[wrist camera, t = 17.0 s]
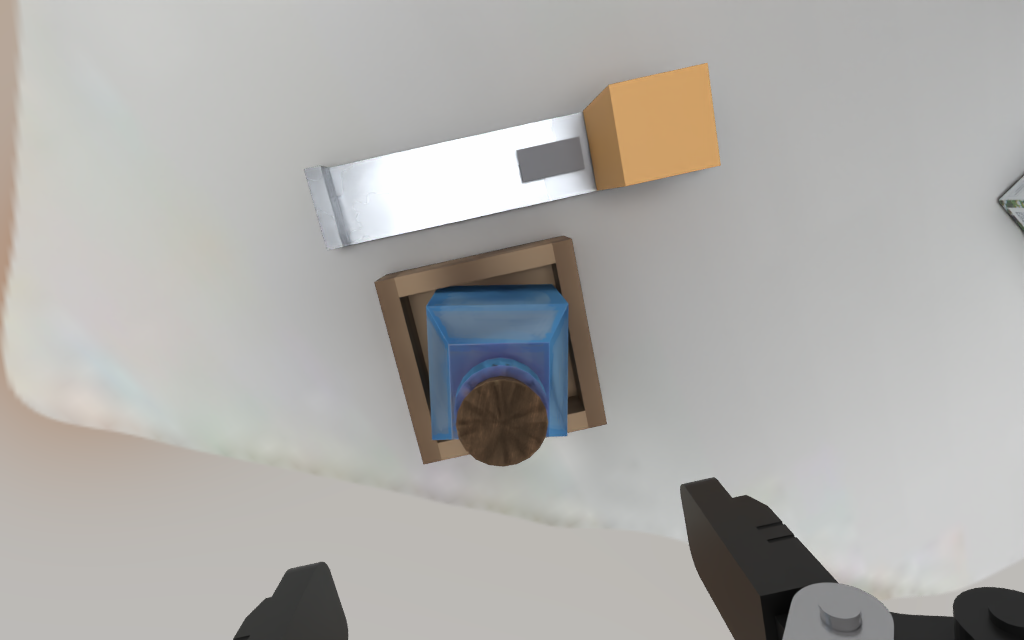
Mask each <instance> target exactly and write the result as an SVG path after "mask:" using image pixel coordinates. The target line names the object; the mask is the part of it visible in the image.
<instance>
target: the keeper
mask: <svg viewBox="0 0 1024 640" xmlns="http://www.w3.org/2000/svg"><path fill="white" fill-rule="evenodd" d="M374 283H375V287H376V290H377V294H378V298H379V301H380V305H381V309H382V312H383V316H384V320H385V324H386V327H387V331H388V335H389V338H390V342H391V346H392V349H393V353H394V357H395V360H396V364H397V368H398V372H399V375H400V379H401V383H402V386H403V390H404V394H405V397H406V401H407V405H408V409H409V412H410V416H411V420H412V423H413V427H414V431H415V434H416V438H417V442H418V445H419V449H420V453H421V457H422V460H423V464H428V463H432V462H437V461H441V460H446V459H450V458H455V457H459V456H464V455H469V453H468V452H467V451H466V450H465V449H464V447H463V445H462V443H461V442H460V440H459V439H451V440H432V427H431V405H430V382H429V360H428V338H427V315H426V306H427V304H428V302H429V301H430V299H431V298H432V296H433V295H434V293H435V291H436V290H437V289H440V288H445V287H449V286H473V285H529V284H553V286H554V287H555V288H556V289H557V290H558V292H559V293H560V294H561V295H562V296H563V298H564V299H565V300H566V301H567V302H568V411H567V433H569V432H573V431H578V430H583V429H587V428H592V427H596V426H601V425H605V424H607V422H606V416H605V411H604V406H603V401H602V395H601V390H600V385H599V380H598V374H597V369H596V364H595V359H594V353H593V348H592V343H591V338H590V332H589V327H588V322H587V316H586V311H585V306H584V301H583V295H582V290H581V285H580V280H579V274H578V269H577V264H576V259H575V253H574V248H573V243H572V239H571V238H568V237H565V236H560V237H555V238H551V239H546V240H542V241H537V242H533V243H528V244H524V245H519V246H514V247H510V248H505V249H501V250H496V251H492V252H487V253H483V254H478V255H473V256H469V257H464V258H460V259H455V260H451V261H446V262H442V263H437V264H433V265H428V266H423V267H419V268H414V269H410V270H405V271H401V272H396V273H392V274H387V275H385V276H383V277H382V278H380V279H379V280H377V281H376V282H374ZM545 438H546V437H545Z"/></svg>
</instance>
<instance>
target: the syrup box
mask: <svg viewBox="0 0 1024 640" xmlns="http://www.w3.org/2000/svg"><path fill="white" fill-rule="evenodd" d="M999 202H1000V203H1001V204H1002V206H1003V207H1004V208H1005V209H1006V211H1007V212H1008V213H1009V214H1010V215H1011V216H1012V218H1013V219H1014V220H1015V221H1016V222H1017V224H1018V225H1019V226H1020V227H1021V229H1022V230H1023V231H1024V176H1023V177H1022V178H1021V179H1020V180H1019V181H1018V182H1017V183H1016V184H1015V185H1014V186H1013V187H1012V188H1011V189H1010V190H1009V191H1008V192H1007V193H1005V194H1004V195H1003V196H1002V197H1001V198H1000V199H999Z"/></svg>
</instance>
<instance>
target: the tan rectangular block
mask: <svg viewBox="0 0 1024 640" xmlns="http://www.w3.org/2000/svg"><path fill="white" fill-rule="evenodd" d="M583 114H584V120H585V125H586V131H587V137H588V142H589V148H590V154H591V159H592V165H593V170H594V176H595V182H596V187H597V191H598V190H605V189H611V188H618V187H624V186H629V185H634V184H638V183H643V182H647V181H652V180H656V179H661V178H665V177H670V176H675V175H679V174H684V173H688V172H693V171H697V170H702V169H706V168H711V167H716V166H720V165H721V164H720V156H719V149H718V141H717V133H716V125H715V118H714V110H713V102H712V94H711V87H710V79H709V71H708V63H705V64H700V65H696V66H691V67H687V68H682V69H678V70H673V71H669V72H664V73H659V74H655V75H650V76H646V77H641V78H637V79H632V80H628V81H623V82H619V83H614V84H610V85H608V86H607V87H606V88H605V89H604V90H603V91H602V92H601V93H600V94H599V95H598V96H597V97H596V98H595V99H594V100H593V101H592V102H591V103H590V104H589V105H588V106H587V107H586V108H585V109H584V110H583ZM516 152H517V157H518V162H519V167H520V172H521V177H522V182H523V183H524V182H528V181H533V180H537V179H542V178H546V177H551V176H556V175H560V174H565V173H569V172H574V171H578V170H583V169H585V165H584V160H583V154H582V148H581V143H580V137H579V136H578V137H574V138H569V139H564V140H560V141H555V142H551V143H546V144H542V145H537V146H533V147H528V148H524V149H519V150H516Z"/></svg>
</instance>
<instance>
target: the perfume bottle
mask: <svg viewBox="0 0 1024 640" xmlns="http://www.w3.org/2000/svg"><path fill="white" fill-rule="evenodd" d="M426 315H427V338H428V360H429V382H430V405H431V427H432V440H451V439H459V440H460V442H461V443H462V445H463V447H464V449H465V450H466V451H467V452H468V453H469V454H470V455H472V456H473V457H474V458H475V459H476V460H479V461H481V462H483V463H486V464H488V465H494V466H508V465H514V464H518V463H520V462H522V461H524V460H526V459H528V458H530V457H531V456H532V455H533V454H534V453H535V452H536V451H537V450H538V449H539V448H540V446H541V444H542V442H543V441H544V439H545V437H554V436H567V411H568V302H567V301H566V300H565V299H564V298H563V296H562V295H561V294H560V293H559V292H558V290H557V289H556V288H555V287H554V286H553V284H529V285H473V286H449V287H445V288H440V289H437V290H436V291H435V293H434V295H433V296H432V298H431V299H430V301H429V302H428V304H427V306H426Z"/></svg>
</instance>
